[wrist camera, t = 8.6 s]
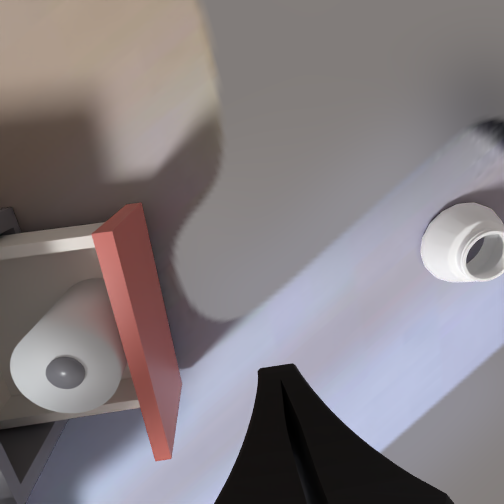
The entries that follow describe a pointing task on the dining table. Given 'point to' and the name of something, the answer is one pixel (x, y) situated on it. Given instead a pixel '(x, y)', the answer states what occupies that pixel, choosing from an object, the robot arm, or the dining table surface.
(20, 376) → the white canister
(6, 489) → the housing
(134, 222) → the red drawer
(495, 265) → the white jar
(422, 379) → the dining table surface
